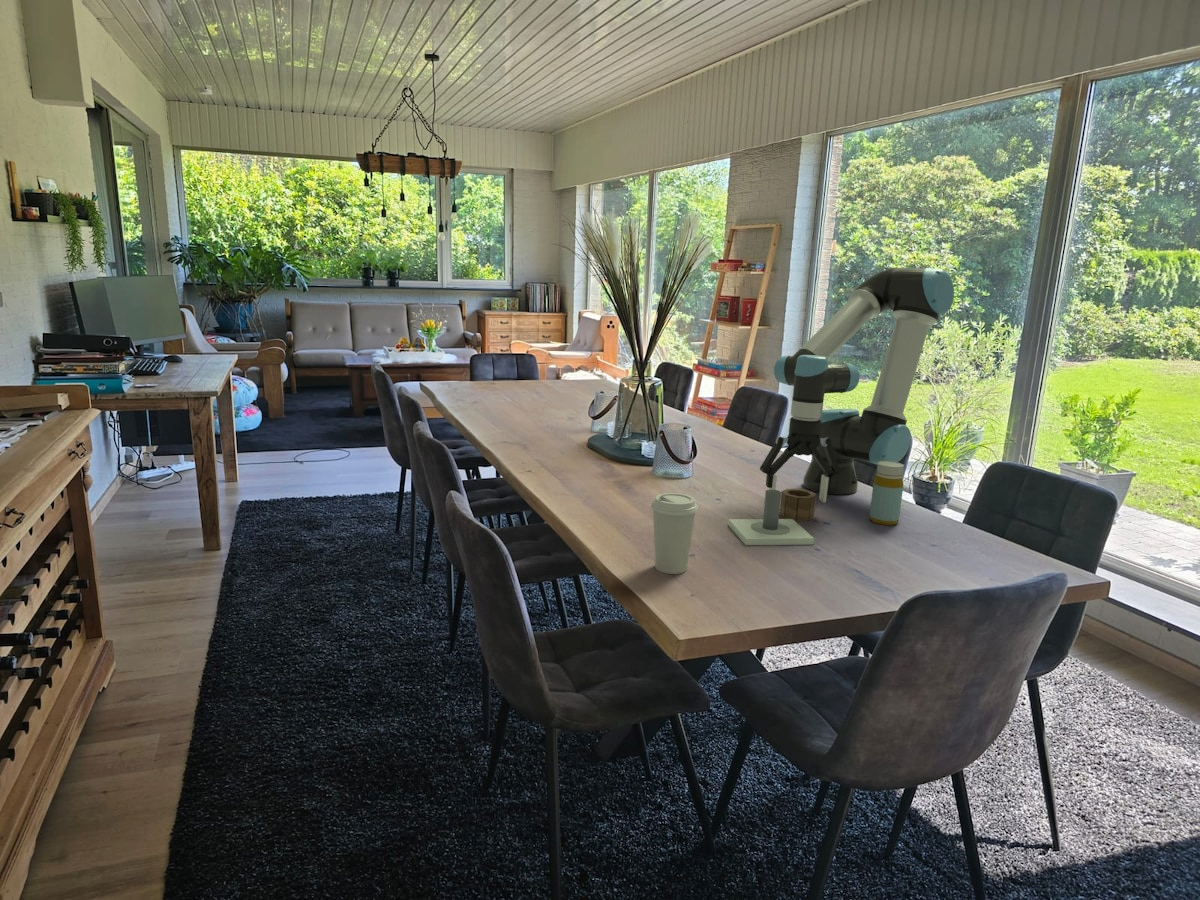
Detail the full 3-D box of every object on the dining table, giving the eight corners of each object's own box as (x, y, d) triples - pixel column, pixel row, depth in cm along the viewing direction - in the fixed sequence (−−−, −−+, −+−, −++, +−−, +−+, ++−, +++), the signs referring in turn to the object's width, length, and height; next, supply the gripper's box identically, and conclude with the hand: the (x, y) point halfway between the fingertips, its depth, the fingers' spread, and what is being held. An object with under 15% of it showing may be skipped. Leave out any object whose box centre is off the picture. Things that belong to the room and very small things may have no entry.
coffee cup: (644, 559, 163) (648, 491, 159) (689, 559, 164) (693, 491, 160) (651, 577, 154) (655, 505, 150) (698, 577, 154) (703, 505, 151)
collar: (805, 510, 201) (807, 488, 199) (817, 520, 193) (820, 497, 192) (776, 511, 200) (778, 488, 198) (787, 520, 192) (789, 497, 191)
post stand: (791, 524, 189) (795, 483, 187) (813, 544, 176) (818, 500, 173) (728, 525, 187) (731, 483, 185) (745, 545, 174) (749, 500, 171)
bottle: (898, 519, 196) (905, 462, 193) (898, 527, 190) (906, 468, 187) (869, 515, 199) (875, 459, 195) (869, 523, 192) (876, 465, 189)
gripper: (847, 416, 196) (837, 497, 200) (752, 413, 193) (744, 495, 197) (860, 422, 189) (849, 505, 193) (762, 419, 185) (754, 503, 190)
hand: (796, 500), depth 195 cm, fingers open, 13 cm apart
